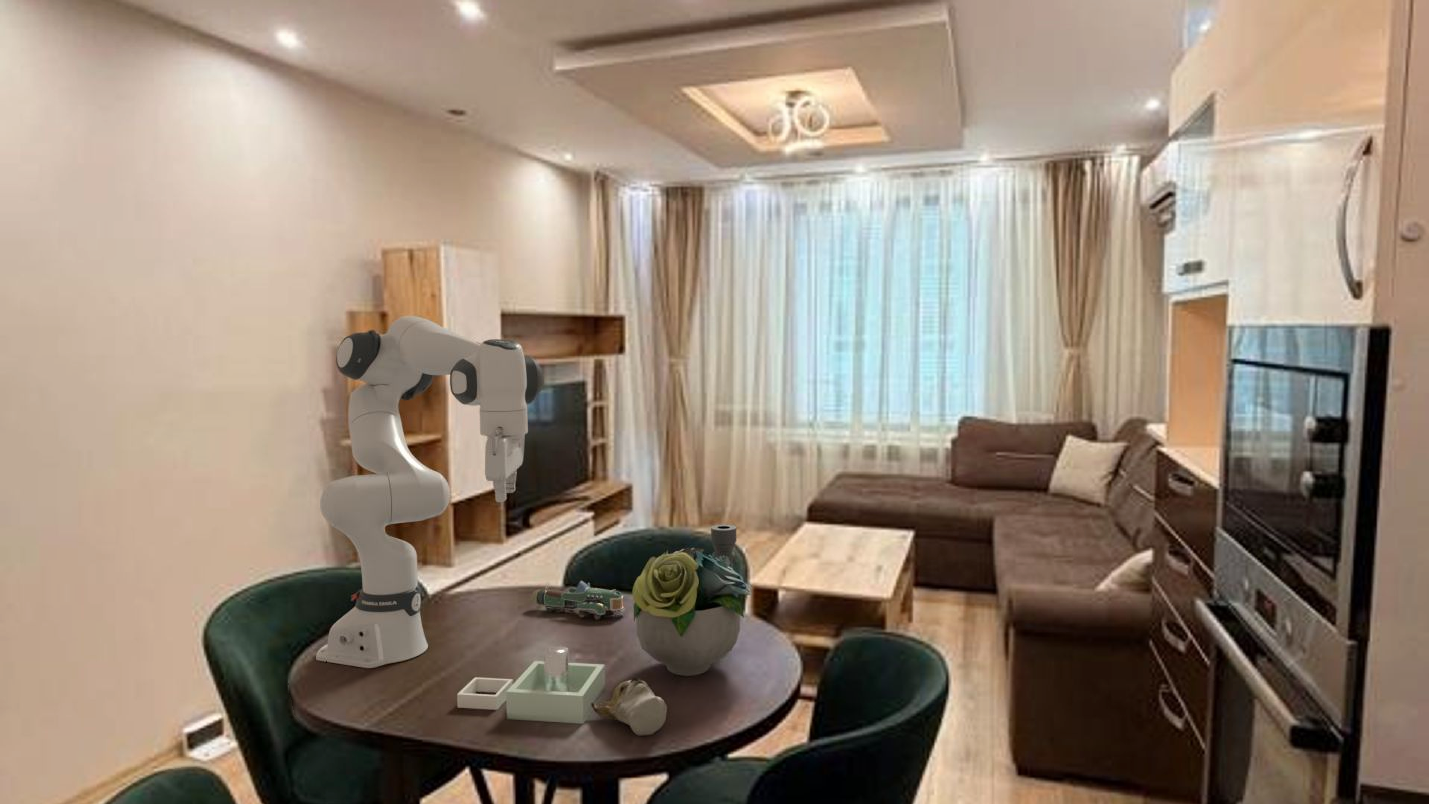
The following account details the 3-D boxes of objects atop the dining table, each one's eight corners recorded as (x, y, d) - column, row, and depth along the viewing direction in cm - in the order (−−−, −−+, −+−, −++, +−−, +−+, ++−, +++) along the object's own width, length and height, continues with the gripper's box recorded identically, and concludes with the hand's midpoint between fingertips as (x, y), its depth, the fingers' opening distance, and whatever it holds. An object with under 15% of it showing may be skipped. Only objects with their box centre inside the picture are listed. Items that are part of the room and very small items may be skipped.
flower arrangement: (664, 639, 183) (663, 531, 181) (767, 657, 172) (767, 543, 170) (602, 680, 161) (600, 559, 159) (716, 704, 150) (715, 574, 148)
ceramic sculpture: (628, 696, 133) (586, 672, 146) (630, 749, 133) (588, 720, 146) (682, 681, 140) (638, 659, 152) (684, 731, 140) (639, 705, 152)
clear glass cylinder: (543, 703, 148) (542, 655, 148) (547, 693, 153) (546, 646, 152) (567, 703, 148) (566, 654, 148) (571, 693, 153) (569, 645, 152)
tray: (506, 718, 145) (506, 691, 144) (535, 686, 159) (534, 660, 158) (583, 723, 143) (582, 696, 142) (605, 689, 157) (604, 664, 156)
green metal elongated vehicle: (616, 624, 193) (615, 590, 193) (522, 615, 200) (521, 582, 200) (631, 611, 203) (631, 578, 202) (540, 603, 210) (540, 571, 209)
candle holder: (717, 643, 180) (716, 531, 179) (706, 634, 186) (705, 525, 184) (742, 638, 183) (742, 528, 181) (731, 630, 189) (730, 523, 187)
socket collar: (457, 707, 149) (457, 694, 149) (475, 690, 157) (475, 677, 157) (497, 709, 148) (496, 696, 148) (513, 692, 156) (512, 679, 156)
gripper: (511, 430, 145) (513, 507, 146) (528, 419, 166) (530, 487, 167) (475, 431, 145) (477, 508, 146) (497, 420, 165) (499, 487, 166)
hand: (505, 496), depth 156 cm, fingers open, 8 cm apart
